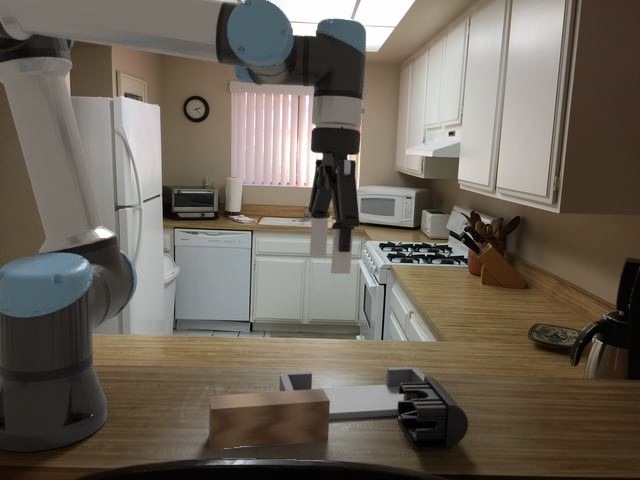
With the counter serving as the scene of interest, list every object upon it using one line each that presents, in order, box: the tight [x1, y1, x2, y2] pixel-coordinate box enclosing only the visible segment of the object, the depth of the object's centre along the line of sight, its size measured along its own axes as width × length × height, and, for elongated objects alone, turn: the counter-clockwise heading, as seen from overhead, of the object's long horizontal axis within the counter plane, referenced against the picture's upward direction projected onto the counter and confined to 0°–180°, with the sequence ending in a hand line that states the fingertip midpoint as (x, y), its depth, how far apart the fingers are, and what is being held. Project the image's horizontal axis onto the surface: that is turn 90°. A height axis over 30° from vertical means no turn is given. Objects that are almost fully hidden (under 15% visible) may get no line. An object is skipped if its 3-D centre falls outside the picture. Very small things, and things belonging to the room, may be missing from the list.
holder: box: [277, 366, 426, 421], centre depth 85 cm, size 24×9×4 cm, turn 102°
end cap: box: [397, 375, 469, 452], centre depth 76 cm, size 10×7×7 cm
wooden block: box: [208, 388, 330, 452], centre depth 73 cm, size 16×4×6 cm, turn 104°
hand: (328, 264), depth 85 cm, fingers open, 13 cm apart
